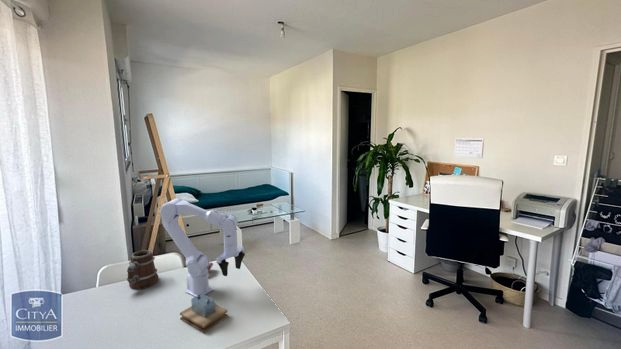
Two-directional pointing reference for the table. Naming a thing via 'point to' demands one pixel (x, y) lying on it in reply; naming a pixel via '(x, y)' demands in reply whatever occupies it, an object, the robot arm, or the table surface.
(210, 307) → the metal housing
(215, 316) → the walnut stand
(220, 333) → the table surface
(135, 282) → the brown wooden bucket
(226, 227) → the robot arm
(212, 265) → the video game controller
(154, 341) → the table surface
